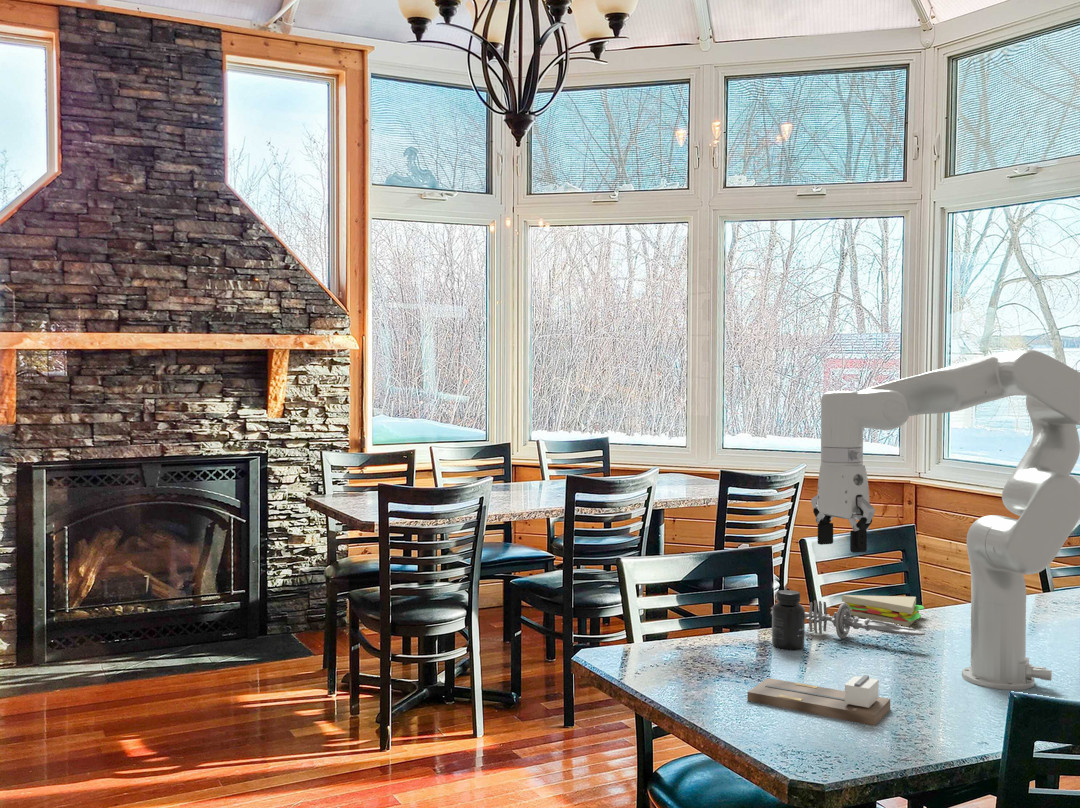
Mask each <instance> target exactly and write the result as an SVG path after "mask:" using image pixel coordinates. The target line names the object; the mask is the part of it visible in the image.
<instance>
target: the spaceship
mask: <svg viewBox="0 0 1080 808" xmlns="http://www.w3.org/2000/svg"><path fill="white" fill-rule="evenodd" d="M813 604H814V605H813ZM772 608H773V606H772V607H770V610H771V611H770V612H769V613H770V615H772ZM804 609H805V610H806V608H805V607H804ZM808 609H809V610H808V612H806V611H805V619H806V620H808V627H809V632H810V633H813V630H814V633H816V634H817V633H819V634H822V633H823V632H825V633H826V632H827V625H828V624H827V623H828V621H829V622H831V623H833V627H835V631H836V634H837V637H838V638H839V639H841V640H842V639H845V638H847V637H848V635H849V632H850V629H851V628H852V629H855V630H860V629H864V630H865V631H867V632H868V631H871V630H872V631H877V632H881V633H887V634H892V635H893V634H895V635H904V636H912V637H914V636H925V635H926V632H924V631H921V630H918V629H916V628H913V627H910V626H909V627H906V626H901V625H896V624H893V623H889V622H883V621H878V620H872V619H869V618H868V619H867V618H861V617H857V616H852V615H851V610H850V607H849V605H848V604H847V603H845V602H843V603H841V604H840V605H839V607H838V609H837V612H836V611H835V612H834V613H833V615H831V616H830V613H829V614H828V609H827V603H826V601H823V602H822V601H821V600H819V601H818V602H817V600H813V602H812V601H810V602H809V608H808ZM845 613H846V614H845ZM822 625H823V626H822Z"/></svg>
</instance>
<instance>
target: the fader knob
mask: <svg viewBox="0 0 1080 808" xmlns="http://www.w3.org/2000/svg"><path fill="white" fill-rule="evenodd" d="M844 691H845V704H851V705H856V706H862V707H868V708H869V707H870V706H871V705H872V704H873V703H874V702H875V701H876V700H877V699H878V697H879V679H875V678H871V677H870V676H869V675H867V674H863V676H857V675H855V676H853V677H852V678H850V680H848V681H847V682H846V683H845V684H844Z"/></svg>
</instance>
